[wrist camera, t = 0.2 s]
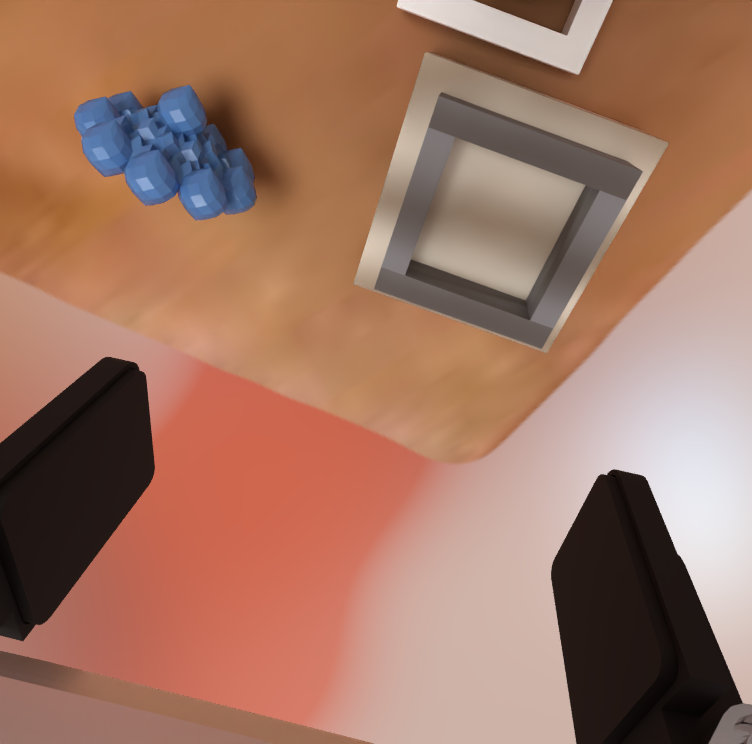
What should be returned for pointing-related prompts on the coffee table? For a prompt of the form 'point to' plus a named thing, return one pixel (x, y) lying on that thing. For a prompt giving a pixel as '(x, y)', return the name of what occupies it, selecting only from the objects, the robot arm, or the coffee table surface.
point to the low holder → (520, 29)
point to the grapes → (167, 152)
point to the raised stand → (500, 202)
